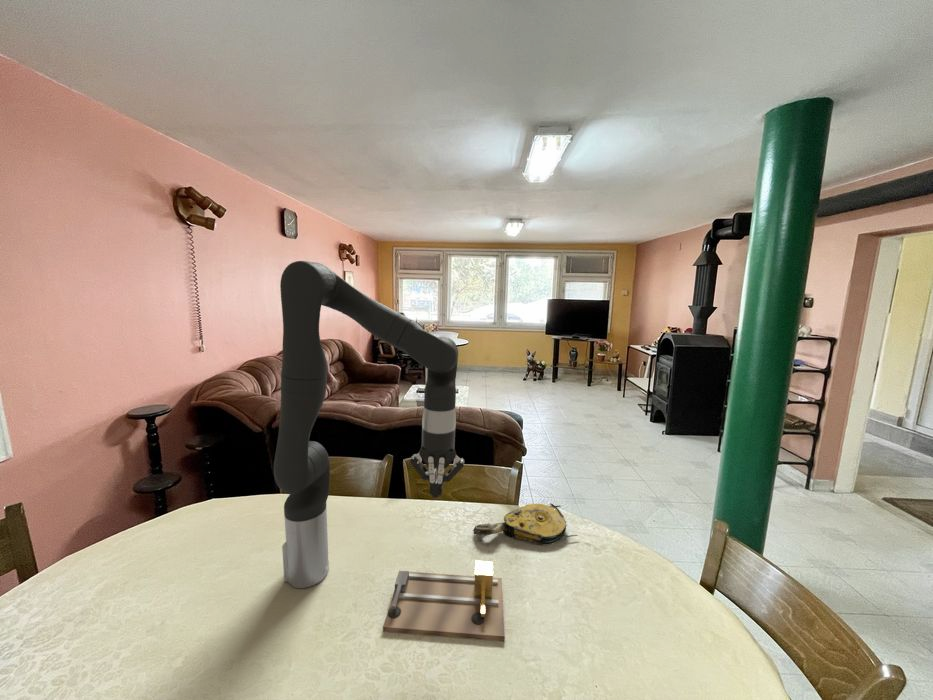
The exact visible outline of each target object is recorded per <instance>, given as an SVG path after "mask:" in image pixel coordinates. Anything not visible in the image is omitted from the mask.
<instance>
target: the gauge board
mask: <svg viewBox="0 0 933 700" xmlns="http://www.w3.org/2000/svg"><path fill="white" fill-rule="evenodd" d="M502 580H503V579H502V578H501V577H493V583H492V599H488V598H485V618H484V619H482V618H481V598H474V588H475V575H474V576H473V575H464V574H463V575H460V574H449V573H448V574H447V573H446V574H445V573H434V572H418V571H417V572H416V571H408V570H399V571H398V573H397V576H396V579H395V582H394V591H393V594H392V597H391V600H390V603H389V607H388V610H387V612H386V615H385V619H384V622H383V626H382V632H383V633H395V634H407V635H417V636H418V635H419V636H432V637H443V638H457V639H469V640H470V639H471V640H482V641H493V642H495V641H496V642H505V636H506V635H505V622H504V620H505V617H504V600H503V598H504V597H503V581H502Z"/></svg>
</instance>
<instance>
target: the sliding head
mask: <svg viewBox="0 0 933 700" xmlns="http://www.w3.org/2000/svg"><path fill="white" fill-rule="evenodd" d="M493 563H494V562H493V561H485V560H484V561H483V560H475V567H474V569H475V570H474V576H475V588H474V598H481V618H482V619H484V618H485V598H488V599H492V583H493V578H494V575H493V574H494V570H493V569H494V565H493Z"/></svg>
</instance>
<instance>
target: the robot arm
mask: <svg viewBox="0 0 933 700" xmlns="http://www.w3.org/2000/svg"><path fill="white" fill-rule="evenodd" d="M279 285H280V300H281V314H282V315H281V316H282V331H283V332H282V355H281V357H282V358H281V359H282V360H281V373H280V375H281V376H280V409H279V410H280V411H279V424H278V425H279V426H278V434H277V435H278V436H277V442H276V449H275V454H274V461H273V476H274V481H275V483H276V485H277V487H278V488H279V490H281V491H282V492H283V493H285V494H287V495H288V496H287V498H286V500H285V501H284V504H283V515H284V516H283V517H284V528H285V529H284V531H285V532H284V534H285V542H284V543H283V544H282V546H281V547H282V549H281V550H282V566H283V567H282V568H283V581H284V583H289V585H290V586H291V587H293V588H296V589H307V588H310V587H313V586H316V585H318V584H319V583H320V582H322V581H323V580H324V579H325V578H326V576H327V575H328V573H329V569H330V567H329V566H330V564H329V563H330V561H329V538H328V515H327V514H328V513H327V512H328V511H327V509H328V508H327V501H328V498H329V495H330V485H331V484H330V483H331V481H330V480H331V479H330V477H331V473H330V472H331V463H330V457H329V453H328V452H327V450H326V448H325V446H323V445H322V444H321V443H320V442H318V441H313V440H310V437H311V434H312V433H311V432H312V430H313V427H314V425H315V422H316V421H317V418H318V415H319V413H320V411H321V409H322V407H323V405H324V401H325V399H326V393H327V383H328V381H327V380H328V363H327V357H326V353H325V351H324V347H323V345H322V341H321V337H320V335H321V334H320V319H321V309H322V306H324V307H327V308H330V309H331V310H334V311H336V312H337V311H338V313H341V314H344V315H345V316H347V317H349V318H350V319H352V320H354V321H355V322H356V323H357V324H359V325H360V326H361V327H362V328H364V329H365V330H366V331H367V332H368V333H370V334H371V335H372V336H374V337H375V338H377V339H378V340H380V341H382V342H384V343H385V344H388V345H389V346H392V347H393V348H395V349H397V350H398V351H402V352H404V353H405V354H406V355H408V356H409V357H410V358H411V359H413V360H414V361H416V362H417V363H418V364H420V366H423V367H424V368H426V369H427V379H426V383H425V386H424V399H423V400H424V401H423V410H422V418H421V419H422V420H421V421H422V422H421V446H420V448H419V451H418V453H413V454H412V456H411V457H410V459H409V463H410V464H411V466H412V467H413V468H414V469H415V470H416V472H417V473H418V475H419V476H420V478H421V479H422V480H424V481H428V482H429V495H430V496H431V497H432V498H435V499H438V498H439V497H440V496H442V494H443V490H444V489H443V487H444V485H443V484H444V482H446V483H449V482H450V481H451V480H452V479H453V478H454V477H455V476H456V475H457V474H458V473H459V472H460V471H461V470H462V468H464V465H465V459H464V458H463V457H459V456H458V455H457V451H456V449H455V448H456V447H455V446H456V445H455V444H456V443H455V442H456V439H455V438H456V425H457V421H456V420H457V413H456V399H457V396H456V395H457V391H456V390H457V389H456V379H457V372H458V360H459V349H458V346H457V344H456V342H455V341H454V340H452V339H451V338H450V337H446V336H439V337H437V336H436V335H434V334H432V333H430V332H429V331H427V330H425V329H423V327H422V326H421V325H420V324H419V323H418V322H416V321H415V320H412V319H411V318H409V317H408V316H405V315H403V314H402V313H400V312H398V311H396V310H394V309H392V308H390V307H389V306H387V305H384V304H383V303H382V302H381V303H380V302H379V301H377V300H376V299H374V298H372V297H369V296H368V295H367V294H365V293H363V292H362V291H360V290H358V289H357V288H355V287H354V286H353V285H352V284H350V283H348V282H347V281H346V280H345V279H344V278H343V277H341V276H339V274H337V273H336V272H334V271H333V270H332V269H331V268H330V267H328V266H327V265H324V264H323V263H320V262H314V261H307V260H305V261H304V260H298V261H297V260H296V261H293V262H291V263H290V264H288V265H287V266H286V267H285V268H284V269H283V272H282V274H281V277H280V284H279ZM422 461H423V462H422ZM452 462H453V464H452V465H453V466H452V467H451V468H450V469H449V470H448V471H447V472H446V473H445V469H446V468H448V467H449V466H450V464H451V463H452ZM427 468H428V469H427Z"/></svg>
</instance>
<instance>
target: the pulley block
mask: <svg viewBox="0 0 933 700" xmlns="http://www.w3.org/2000/svg"><path fill="white" fill-rule="evenodd" d="M560 507H561V505H555V504H553V503H549V504H543V503H531V504H530V503H529V504H526V505H523V506H521V507H519V508H516V509H514V510H512V511H509V512H508V513H506V514H505V515H504V517H503V522H497V523H481V524H478V525H475V526H474V528H473V530H472V532H473V534H474V535H484V536H485V535H486V536H488V535H489V536H490V535H493V534H495V535H496V534H499V533H502V532H503V534H504V535H505V536H506V537H509V538H511V539H515V540H519V541H523V542H527V543H531V544H535V545H538V546H543V544H549V545H553V544H556V543H558V542H559V541H561V540H562V539H563V538H569V537H570V538H571V537H577V536H578V534H571V535H565V534H566V529H567V526H568V524H567V521H566V519H565V517H564V514H562V511H560V509H559V508H560ZM554 509H555V510H554ZM552 543H553V544H552Z"/></svg>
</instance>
